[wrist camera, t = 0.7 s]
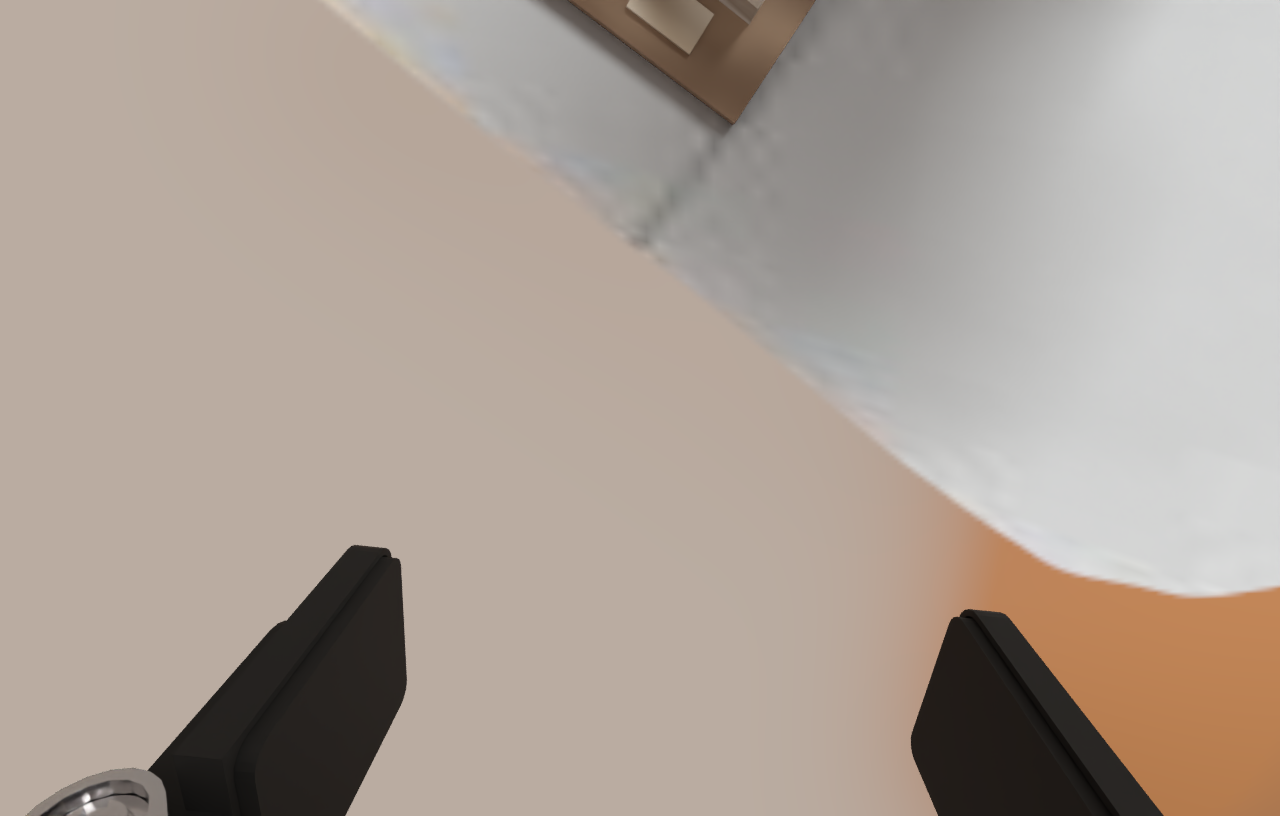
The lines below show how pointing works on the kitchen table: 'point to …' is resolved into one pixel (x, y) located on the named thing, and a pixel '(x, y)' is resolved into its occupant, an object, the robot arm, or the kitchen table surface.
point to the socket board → (705, 41)
